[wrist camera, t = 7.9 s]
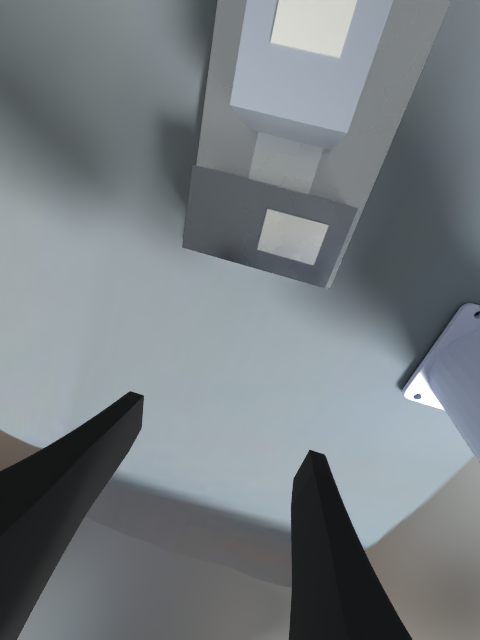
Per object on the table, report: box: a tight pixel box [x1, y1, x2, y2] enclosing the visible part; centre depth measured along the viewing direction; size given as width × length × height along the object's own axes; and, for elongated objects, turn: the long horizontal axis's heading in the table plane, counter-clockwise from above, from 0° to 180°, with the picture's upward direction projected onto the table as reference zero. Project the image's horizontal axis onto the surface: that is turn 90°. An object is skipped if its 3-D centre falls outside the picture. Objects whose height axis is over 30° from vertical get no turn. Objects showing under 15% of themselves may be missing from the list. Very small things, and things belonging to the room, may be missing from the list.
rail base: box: [182, 0, 452, 289], centre depth 11 cm, size 10×21×4 cm, turn 167°
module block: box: [230, 0, 393, 150], centre depth 10 cm, size 4×7×5 cm, turn 167°
